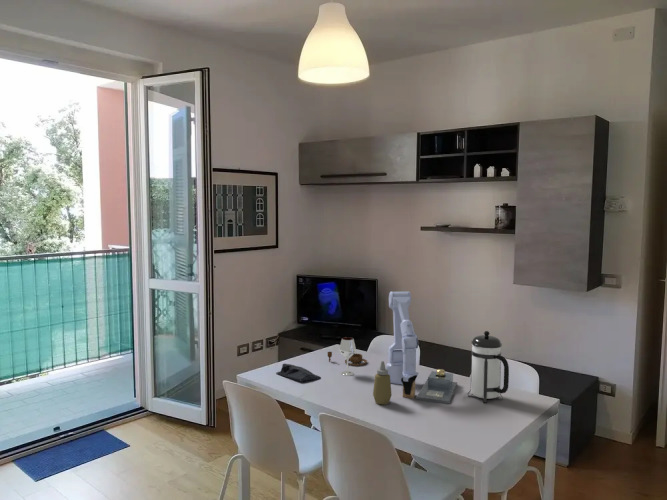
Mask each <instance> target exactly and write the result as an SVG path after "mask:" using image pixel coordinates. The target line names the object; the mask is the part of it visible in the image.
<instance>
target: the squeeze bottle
mask: <svg viewBox="0 0 667 500" xmlns="http://www.w3.org/2000/svg"><path fill="white" fill-rule="evenodd" d="M391 385H392V383H391V382H390V375H389V374H388V370H387V369H386V365H385V360H382V361H381V362H380V366H379V368H377V369H376V374H375V375H374V382H373V390H372V397H373V399H374V402H375V404H377V405H381V406H382V405H383V406H384V405H389V403H390V401H391V398H392V396H393V395H392V394H393V393H392V386H391Z"/></svg>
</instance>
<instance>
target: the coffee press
mask: <svg viewBox="0 0 667 500" xmlns="http://www.w3.org/2000/svg"><path fill="white" fill-rule="evenodd" d="M483 334H484V335H477V336H474V337H473V338H472V340H471V343H470V344H471V346H472V347H471V355H470V356H471V358H470V359H471V361H470V370H471V375H470V389H469V391H468V393H467V397H469V398H470V397H472V396H473V395H474V396H475V397H477V398H480V399H482V400H483V404H487V401H488V400H487V399H489V400H492V399H496V398H497V399H499V400H500V401H502V400H504V399H503V398H504V397H503V395H502V394H505V393H506V392H507V391H508V389H509V380H510V379H509V377H510V375H509V374H510V369H509V368H510V366H509V363H508V361H507V360H508V359H506V358H505V357H504V356H503V355H502V350H501V349H502V347H503V344H502V342H501V340H500V339H499V338H498V337H495V336H493V335H491V334H490V332H489V331H488V330H485V331H484V332H483ZM502 364H503V388H501V377H502V376H501V374H502V373H501V372H502V371H501V370H502V369H501V368H502ZM470 393H471V394H470ZM499 396H500V397H501V398H500V397H499Z"/></svg>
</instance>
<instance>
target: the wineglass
mask: <svg viewBox="0 0 667 500" xmlns="http://www.w3.org/2000/svg"><path fill="white" fill-rule="evenodd" d="M356 351H357V350H356V344H355V339H354V338H353V337H349V336H348V337H346V336H345V337H343V338H341V341H340V345H339V353H340V354H341V355H342V356H343V357H344V358H345V360H347V364H346V371H341V372H340V374H341V375H342V376H345V377H346V376H353V375H354V374H355V373H354V372H353V371H350V370H349V365H348V363H349V361H348V360H349V358H350V357H352V356H353V355H354V354H356Z"/></svg>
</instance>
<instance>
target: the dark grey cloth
mask: <svg viewBox="0 0 667 500" xmlns="http://www.w3.org/2000/svg"><path fill="white" fill-rule="evenodd" d="M275 373H276V375H279V374H280V376H281V377H284V378H287V379H290V380H293V381H296V382H300V383H302V382H308V381H315V380H321V378H322V377H321V376H319V375H317V374H314V373H313V372H311V371H310V370H308V369H306V368H305V367H302V366H298V365H295V364H290V363H283V364H282V367H281V370H280V371H277V372H275Z"/></svg>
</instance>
